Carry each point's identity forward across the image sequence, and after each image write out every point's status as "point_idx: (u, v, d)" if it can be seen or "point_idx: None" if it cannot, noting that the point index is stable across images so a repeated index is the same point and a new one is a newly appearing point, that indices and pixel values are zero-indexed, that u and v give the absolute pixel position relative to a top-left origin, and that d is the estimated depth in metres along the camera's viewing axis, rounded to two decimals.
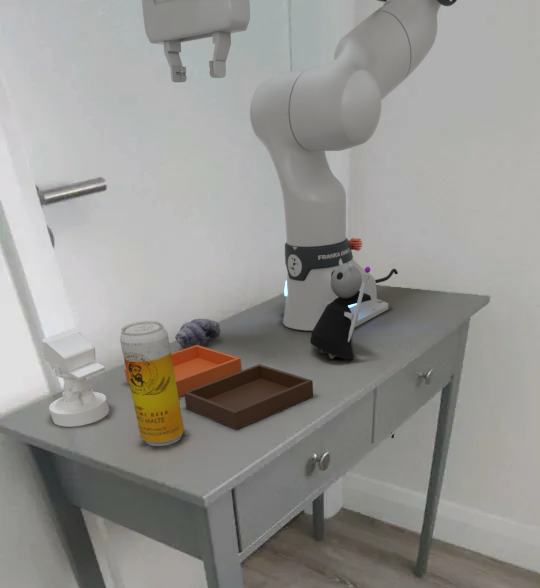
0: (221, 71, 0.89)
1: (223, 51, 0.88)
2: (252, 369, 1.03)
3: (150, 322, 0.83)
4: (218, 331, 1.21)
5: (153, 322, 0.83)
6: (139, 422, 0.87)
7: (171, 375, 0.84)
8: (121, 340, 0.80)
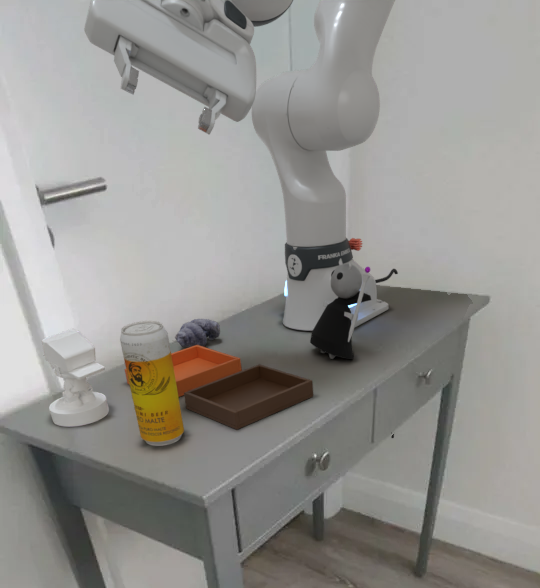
0: (123, 78, 0.72)
1: (119, 60, 0.72)
2: (252, 369, 1.03)
3: (150, 322, 0.83)
4: (218, 331, 1.21)
5: (153, 322, 0.83)
6: (139, 422, 0.87)
7: (171, 375, 0.84)
8: (121, 340, 0.80)
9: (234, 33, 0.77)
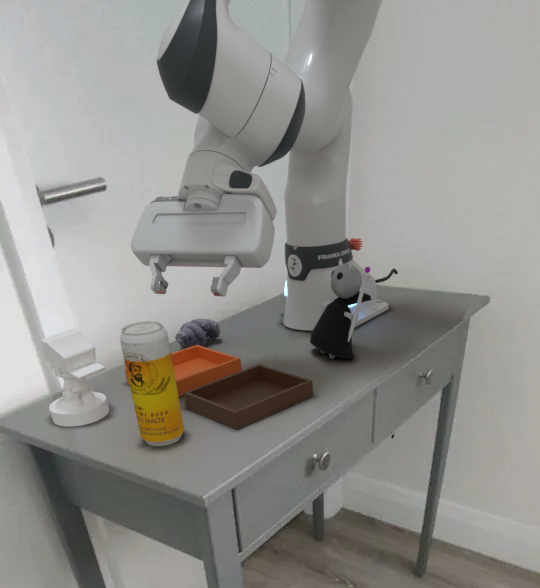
0: None
1: None
2: (252, 369, 1.03)
3: (150, 322, 0.83)
4: (218, 331, 1.21)
5: (153, 322, 0.83)
6: (139, 422, 0.87)
7: (171, 375, 0.84)
8: (121, 340, 0.80)
9: (240, 196, 0.82)
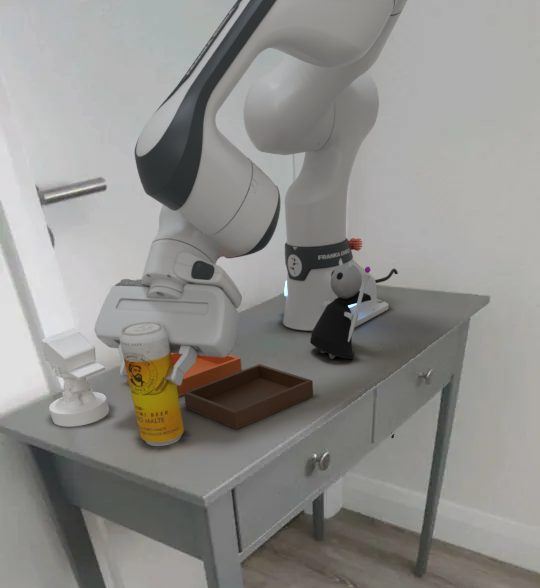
0: None
1: None
2: (252, 369, 1.03)
3: (150, 322, 0.83)
4: None
5: (153, 322, 0.83)
6: (139, 422, 0.87)
7: None
8: (121, 340, 0.80)
9: (202, 287, 0.80)
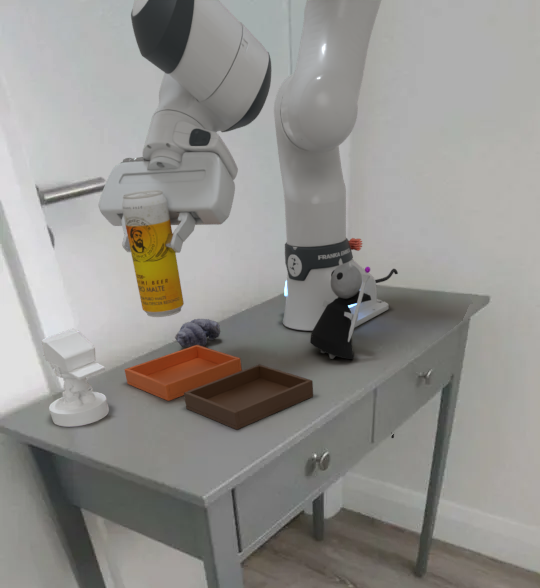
0: None
1: None
2: (252, 369, 1.03)
3: (150, 191, 0.87)
4: (218, 331, 1.21)
5: (153, 191, 0.87)
6: (141, 293, 0.92)
7: None
8: (123, 205, 0.85)
9: (199, 153, 0.85)
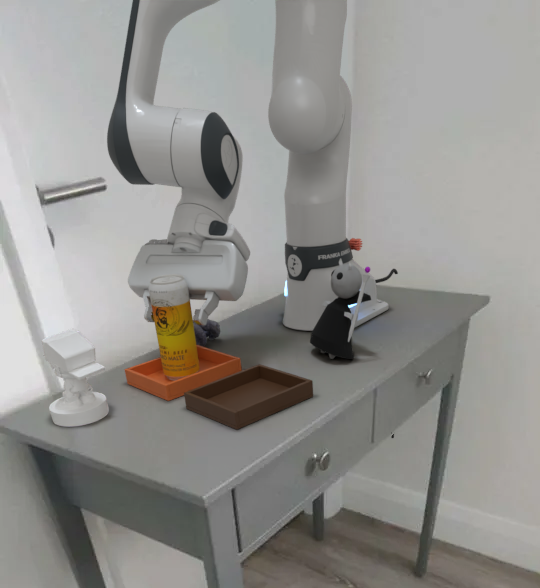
0: None
1: None
2: (252, 369, 1.03)
3: (173, 275, 1.01)
4: (218, 331, 1.21)
5: (175, 275, 1.01)
6: (163, 360, 1.05)
7: (190, 319, 1.02)
8: (150, 289, 0.98)
9: (217, 242, 0.98)
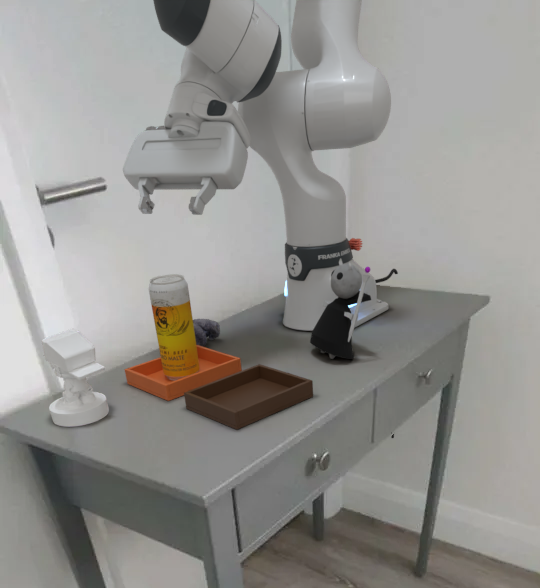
0: None
1: None
2: (252, 369, 1.03)
3: (173, 275, 1.01)
4: (218, 331, 1.21)
5: (175, 275, 1.01)
6: (163, 360, 1.05)
7: (190, 319, 1.02)
8: (150, 289, 0.98)
9: (216, 123, 0.93)
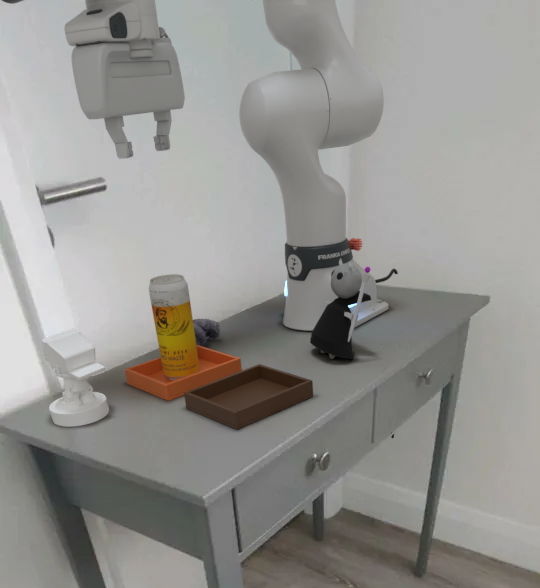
0: None
1: None
2: (252, 369, 1.03)
3: (173, 275, 1.01)
4: (218, 331, 1.21)
5: (175, 275, 1.01)
6: (163, 360, 1.05)
7: (190, 319, 1.02)
8: (150, 289, 0.98)
9: None
